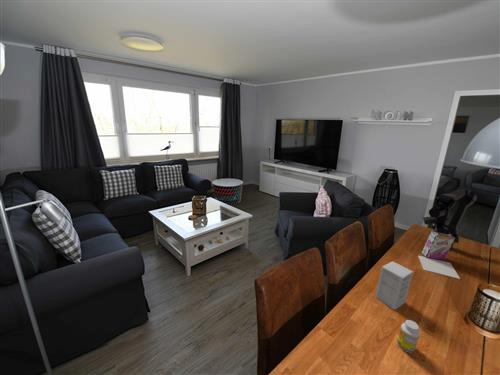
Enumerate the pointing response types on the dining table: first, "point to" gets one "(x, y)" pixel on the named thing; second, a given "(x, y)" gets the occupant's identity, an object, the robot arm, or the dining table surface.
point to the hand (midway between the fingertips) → (435, 237)
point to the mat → (438, 267)
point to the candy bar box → (438, 245)
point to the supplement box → (393, 284)
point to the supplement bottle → (408, 336)
